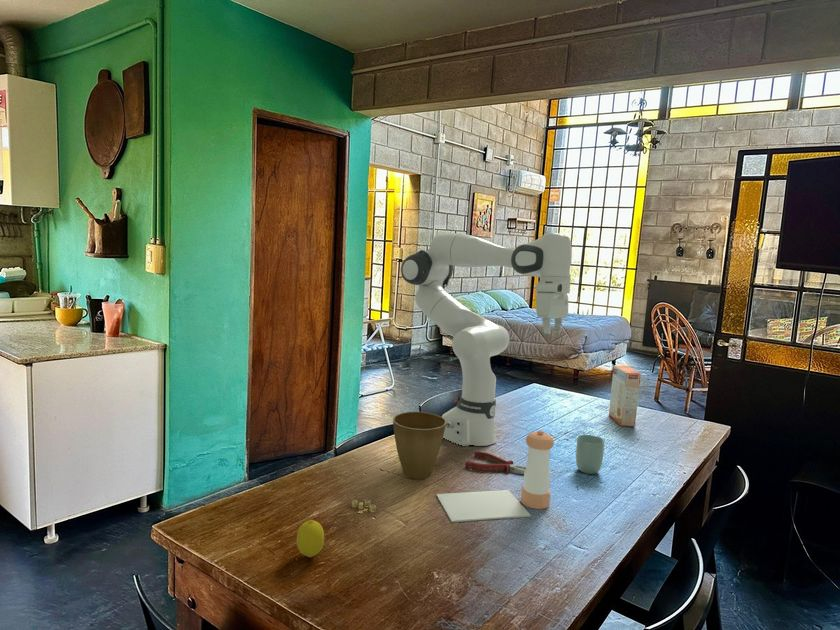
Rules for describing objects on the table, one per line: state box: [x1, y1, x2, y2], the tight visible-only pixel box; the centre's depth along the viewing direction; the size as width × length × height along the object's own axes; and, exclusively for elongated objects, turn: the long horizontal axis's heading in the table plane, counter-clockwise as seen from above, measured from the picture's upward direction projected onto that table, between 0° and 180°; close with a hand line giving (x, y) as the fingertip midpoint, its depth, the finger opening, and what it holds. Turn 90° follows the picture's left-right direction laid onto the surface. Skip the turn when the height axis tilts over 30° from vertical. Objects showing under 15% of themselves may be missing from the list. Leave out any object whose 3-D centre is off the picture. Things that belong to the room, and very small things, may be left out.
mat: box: [435, 489, 531, 523], centre depth 139 cm, size 20×14×1 cm
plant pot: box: [392, 411, 446, 480], centre depth 156 cm, size 15×15×16 cm
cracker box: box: [608, 365, 641, 427], centre depth 215 cm, size 14×6×21 cm, turn 179°
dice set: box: [351, 499, 377, 514], centre depth 135 cm, size 5×5×2 cm
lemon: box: [296, 519, 325, 559], centre depth 112 cm, size 6×6×8 cm
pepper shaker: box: [520, 429, 555, 510], centre depth 141 cm, size 7×7×19 cm
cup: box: [575, 434, 605, 475], centre depth 164 cm, size 8×8×10 cm
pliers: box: [464, 450, 526, 475], centre depth 164 cm, size 12×20×3 cm, turn 67°
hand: (552, 333), depth 166 cm, fingers open, 8 cm apart
